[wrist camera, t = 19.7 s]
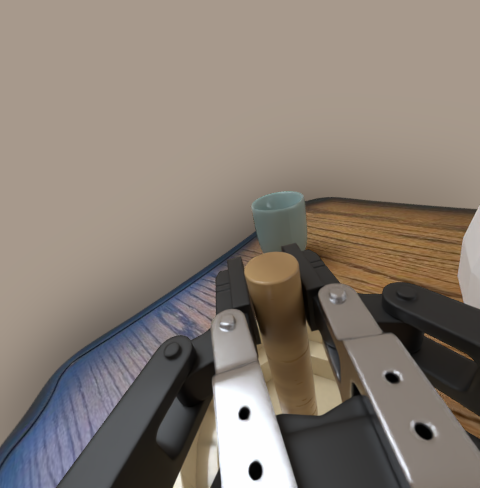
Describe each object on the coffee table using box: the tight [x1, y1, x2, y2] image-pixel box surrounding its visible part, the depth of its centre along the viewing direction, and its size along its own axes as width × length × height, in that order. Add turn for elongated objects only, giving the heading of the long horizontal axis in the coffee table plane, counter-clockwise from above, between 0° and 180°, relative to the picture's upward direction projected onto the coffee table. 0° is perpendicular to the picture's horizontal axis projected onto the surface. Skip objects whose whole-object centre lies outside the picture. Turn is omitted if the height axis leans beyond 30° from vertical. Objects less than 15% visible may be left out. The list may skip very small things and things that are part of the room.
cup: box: [251, 191, 307, 253], centre depth 36 cm, size 8×8×10 cm
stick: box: [244, 252, 318, 416], centre depth 12 cm, size 2×2×16 cm
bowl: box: [173, 321, 446, 488], centre depth 15 cm, size 16×16×6 cm
